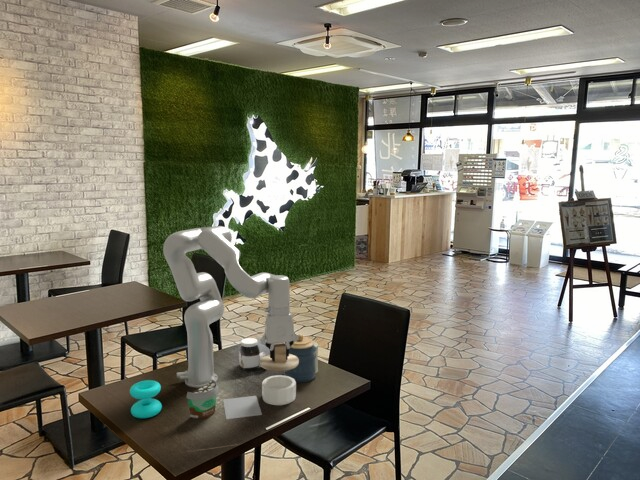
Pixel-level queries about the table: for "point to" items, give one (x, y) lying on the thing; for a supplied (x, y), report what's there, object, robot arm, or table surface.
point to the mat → (241, 407)
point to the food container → (203, 401)
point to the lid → (279, 359)
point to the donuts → (145, 399)
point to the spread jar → (250, 354)
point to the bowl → (278, 390)
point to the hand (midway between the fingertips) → (279, 358)
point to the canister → (303, 360)
